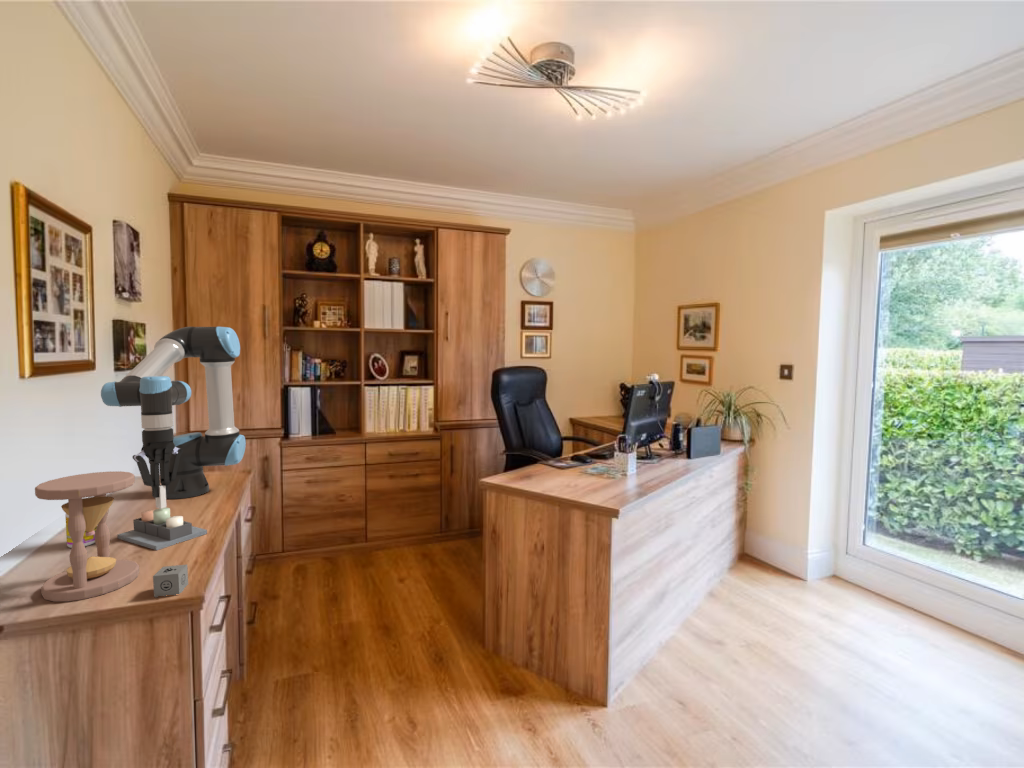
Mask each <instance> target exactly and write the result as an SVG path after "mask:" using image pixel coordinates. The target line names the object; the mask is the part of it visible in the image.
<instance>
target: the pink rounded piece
mask: <svg viewBox="0 0 1024 768" xmlns="http://www.w3.org/2000/svg"><path fill="white" fill-rule="evenodd" d="M154 510H155V509H150V510H149V509H148V510H144V511H142V512H141V513H140V516H141V517H140V518H142V521H144V522H147V521H151V520H154V519H153V511H154Z"/></svg>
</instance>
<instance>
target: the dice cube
mask: <svg viewBox="0 0 1024 768" xmlns="http://www.w3.org/2000/svg"><path fill="white" fill-rule="evenodd" d="M188 572H189V571H188V564H178V565H176V564H175V565H167V566H162V567H161V568H160V569H159V570H157V572H155V573H154V575H152V582H153V598H154V597H155V598H159V597H158V596H164V597H167V596H166V595H174V596H177V595H176V594H180V593H181V594H182V593H183V591H184V590H185V589H186V588H187V587H188V586H189V573H188ZM187 585H188V586H187ZM186 586H187V587H186ZM185 587H186V588H185ZM184 588H185V589H184ZM181 594H180V595H181Z"/></svg>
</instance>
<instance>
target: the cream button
mask: <svg viewBox="0 0 1024 768" xmlns="http://www.w3.org/2000/svg"><path fill="white" fill-rule="evenodd" d="M183 521H184V516H182V515H175V516H174V515H173V516H170V517H169V518H167V519H166V528H170V529H171V528H175V527H178V526H181V525H183Z"/></svg>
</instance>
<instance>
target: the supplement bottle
mask: <svg viewBox="0 0 1024 768" xmlns="http://www.w3.org/2000/svg"><path fill="white" fill-rule="evenodd" d="M82 499H84V498H82ZM68 520H69V516H68V515H67V514H66V513H65V531H66V533H65V534H66V535H65V536H66V546H67V547H68V548H70V549H72V545H73V541H72V539H71V537H70V534H69V532H68ZM96 528H97V526H96V527H95V529H94V531H95V532H96ZM86 532H87V531H86V530H85V532H84V536H83V540H82V542H83V544H84V546H85V547H89V546H90V545H93V544H96V543H95V534H94V535H91V536H86V534H85V533H86Z"/></svg>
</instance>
